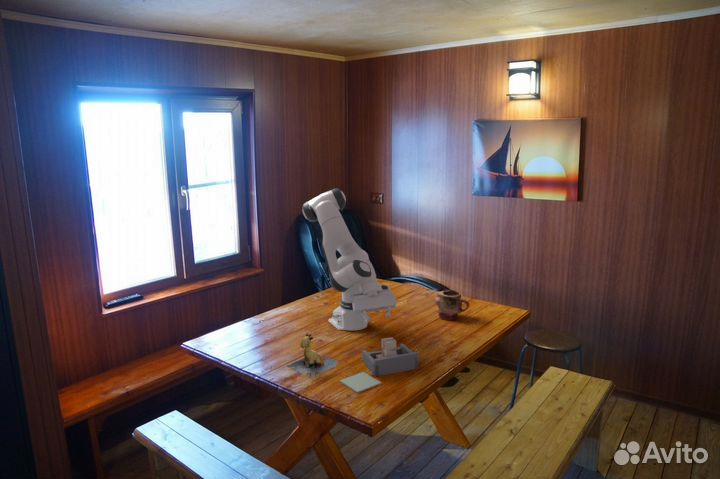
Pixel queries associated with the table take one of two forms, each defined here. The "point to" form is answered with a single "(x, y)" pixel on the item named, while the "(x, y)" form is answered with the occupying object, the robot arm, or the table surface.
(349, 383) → the mat
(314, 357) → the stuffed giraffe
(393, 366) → the nook
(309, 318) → the table surface
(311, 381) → the table surface
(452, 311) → the brown ceramic mug
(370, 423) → the table surface
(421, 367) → the table surface
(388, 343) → the block
